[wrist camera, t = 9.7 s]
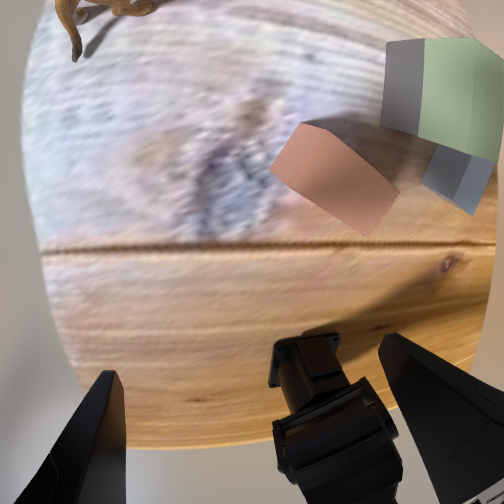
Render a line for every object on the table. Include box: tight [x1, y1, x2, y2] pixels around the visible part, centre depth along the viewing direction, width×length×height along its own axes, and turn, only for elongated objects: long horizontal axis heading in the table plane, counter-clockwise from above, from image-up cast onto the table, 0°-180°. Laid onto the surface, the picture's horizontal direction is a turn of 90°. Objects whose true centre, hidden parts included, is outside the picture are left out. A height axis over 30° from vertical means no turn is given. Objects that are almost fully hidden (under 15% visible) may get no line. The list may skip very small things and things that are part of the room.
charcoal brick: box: [380, 38, 425, 136], centre depth 15 cm, size 6×4×4 cm, turn 177°
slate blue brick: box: [421, 144, 496, 216], centre depth 19 cm, size 6×4×4 cm, turn 158°
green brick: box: [417, 38, 504, 163], centre depth 12 cm, size 6×4×4 cm, turn 177°
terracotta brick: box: [269, 123, 400, 239], centre depth 18 cm, size 6×4×4 cm, turn 58°
